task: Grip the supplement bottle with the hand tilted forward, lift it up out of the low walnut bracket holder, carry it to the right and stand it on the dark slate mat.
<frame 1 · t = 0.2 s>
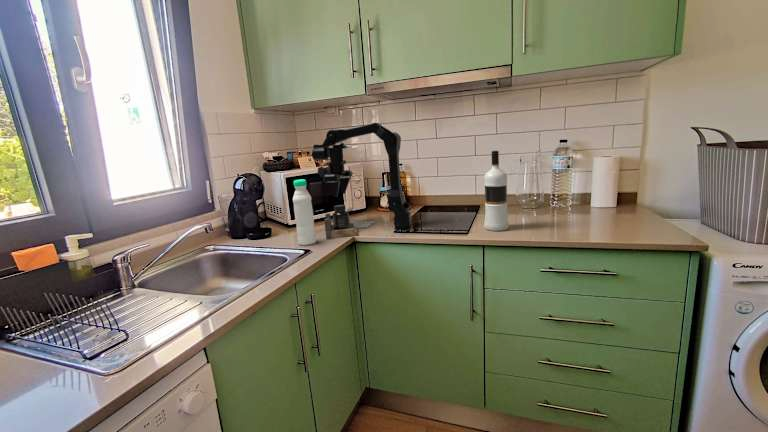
hand: (339, 195, 164), 15 cm above the worktop, tool pointing down, fingers open, 9 cm apart
bracket holder: (342, 233, 157), on the worktop
milk bottle: (307, 243, 147), on the worktop
vodka: (496, 229, 145), on the worktop
supplement bottle: (342, 234, 157), resting in bracket holder
slate mat: (359, 224, 171), on the worktop
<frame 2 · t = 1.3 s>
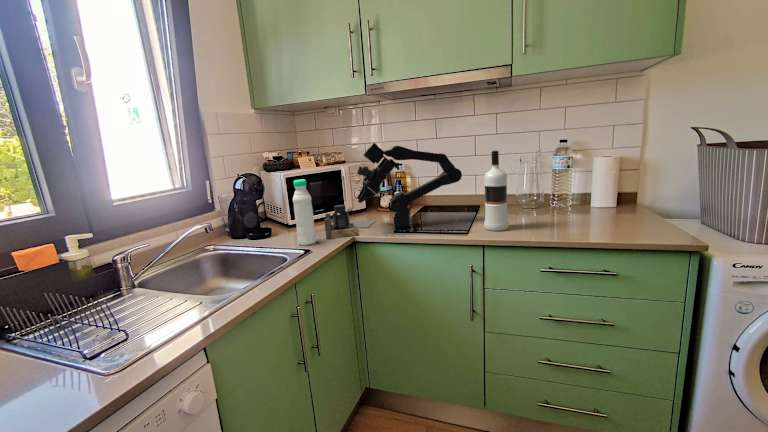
hand: (358, 200, 155), 13 cm above the worktop, tool tilted 45°, fingers open, 9 cm apart
nothing on the worktop moved.
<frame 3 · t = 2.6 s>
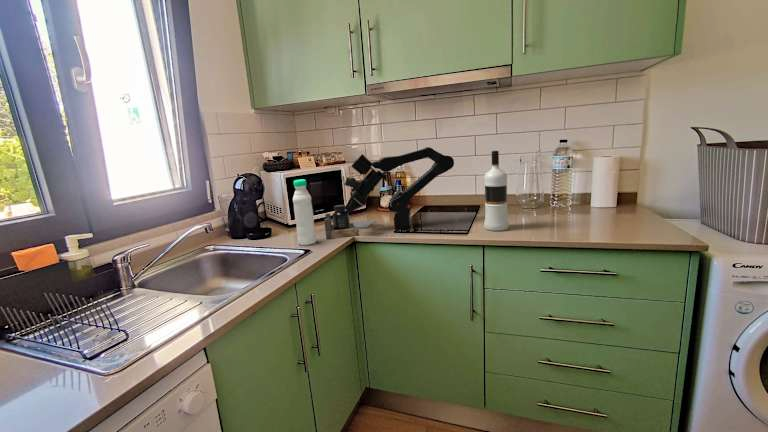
hand: (345, 211, 155), 9 cm above the worktop, tool tilted 45°, fingers open, 9 cm apart
nothing on the worktop moved.
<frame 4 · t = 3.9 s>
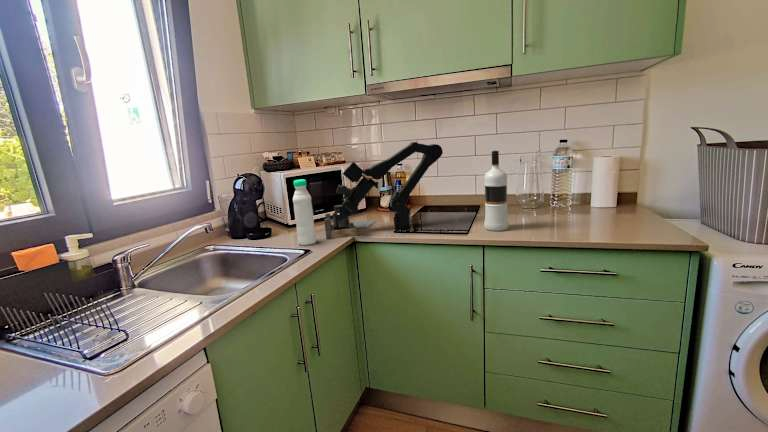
hand: (337, 218, 156), 7 cm above the worktop, tool tilted 45°, fingers closed on supplement bottle, 7 cm apart
supplement bottle: (342, 234, 157), resting in bracket holder, touching gripper
everything else where it was.
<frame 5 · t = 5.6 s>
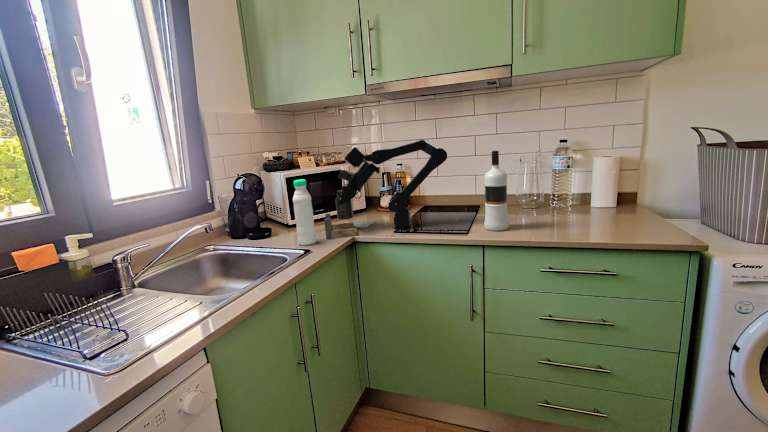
hand: (340, 203, 160), 12 cm above the worktop, tool tilted 45°, fingers closed on supplement bottle, 7 cm apart
supplement bottle: (345, 218, 161), point 5 cm above the worktop, touching gripper
everything else where it was.
when the fingers open (8 cm above the worktop, at t = 7.5 s): supplement bottle stays where it is, resting on slate mat.
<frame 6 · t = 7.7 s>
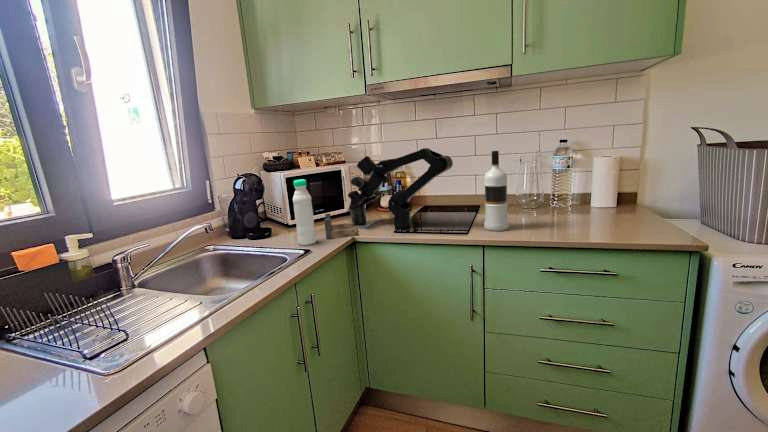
hand: (355, 207, 170), 8 cm above the worktop, tool tilted 45°, fingers open, 8 cm apart
supplement bottle: (359, 224, 170), resting on slate mat
everything else where it was.
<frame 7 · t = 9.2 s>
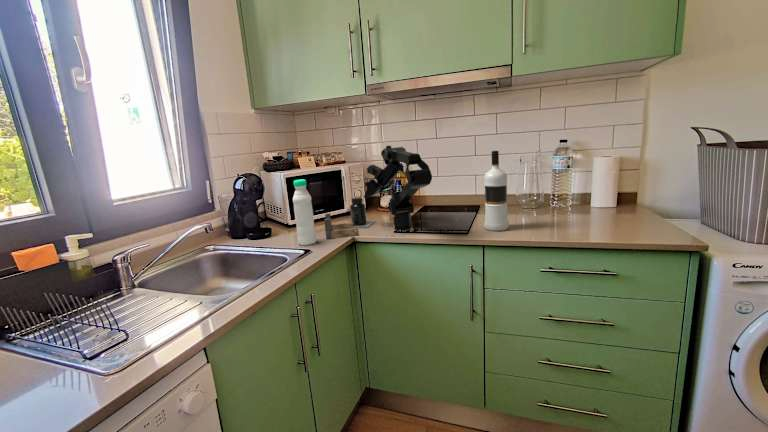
hand: (369, 195, 170), 13 cm above the worktop, tool tilted 45°, fingers open, 9 cm apart
nothing on the worktop moved.
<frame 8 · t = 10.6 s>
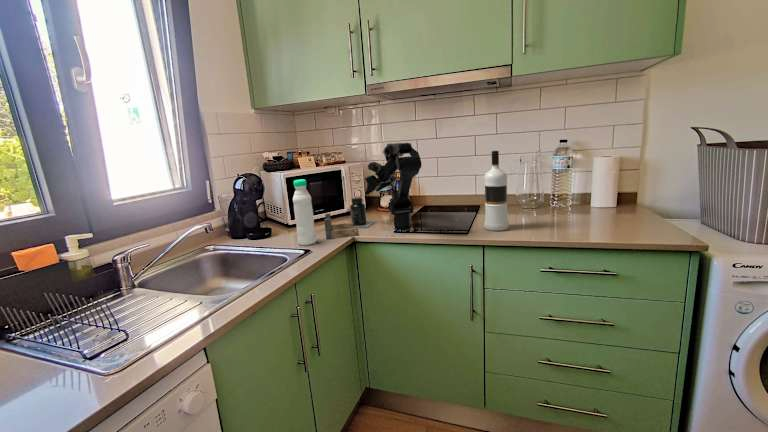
hand: (371, 192, 173), 14 cm above the worktop, tool tilted 45°, fingers open, 9 cm apart
nothing on the worktop moved.
at the end: supplement bottle inside the target area (0.1 cm from its centre), resting on slate mat; supplement bottle tilted 0°; the gripper is holding nothing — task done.
